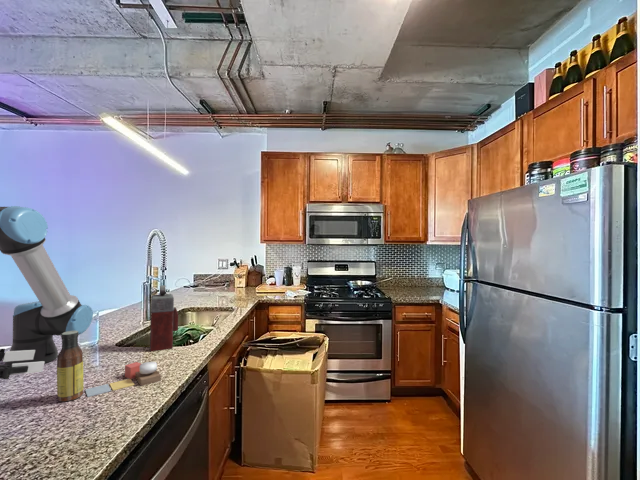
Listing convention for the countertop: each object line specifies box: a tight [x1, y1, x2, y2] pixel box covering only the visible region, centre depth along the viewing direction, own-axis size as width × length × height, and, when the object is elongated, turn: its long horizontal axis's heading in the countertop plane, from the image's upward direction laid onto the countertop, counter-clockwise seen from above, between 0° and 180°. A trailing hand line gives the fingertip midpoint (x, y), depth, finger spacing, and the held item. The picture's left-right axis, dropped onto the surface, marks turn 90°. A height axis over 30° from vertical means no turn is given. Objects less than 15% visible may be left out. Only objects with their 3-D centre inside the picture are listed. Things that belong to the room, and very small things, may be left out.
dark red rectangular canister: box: [149, 284, 179, 353], centre depth 141 cm, size 9×11×28 cm
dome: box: [140, 361, 158, 374], centre depth 107 cm, size 5×5×2 cm
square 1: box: [84, 383, 112, 398], centre depth 98 cm, size 6×6×1 cm
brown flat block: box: [134, 370, 162, 387], centre depth 107 cm, size 8×6×2 cm
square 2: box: [109, 378, 135, 391], centre depth 103 cm, size 6×6×1 cm
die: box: [124, 361, 142, 380], centre depth 110 cm, size 4×4×4 cm
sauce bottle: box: [56, 331, 85, 403], centre depth 94 cm, size 6×6×20 cm
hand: (38, 360), depth 90 cm, fingers open, 13 cm apart
